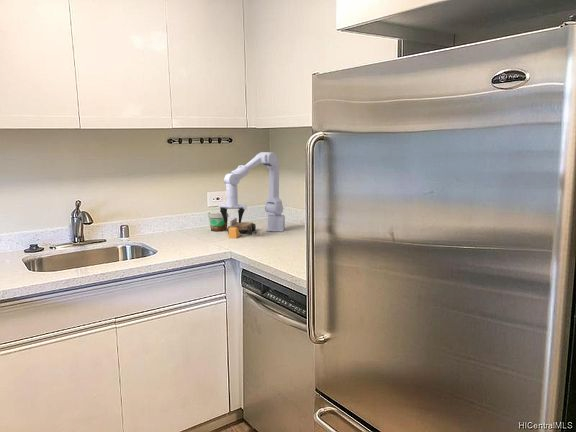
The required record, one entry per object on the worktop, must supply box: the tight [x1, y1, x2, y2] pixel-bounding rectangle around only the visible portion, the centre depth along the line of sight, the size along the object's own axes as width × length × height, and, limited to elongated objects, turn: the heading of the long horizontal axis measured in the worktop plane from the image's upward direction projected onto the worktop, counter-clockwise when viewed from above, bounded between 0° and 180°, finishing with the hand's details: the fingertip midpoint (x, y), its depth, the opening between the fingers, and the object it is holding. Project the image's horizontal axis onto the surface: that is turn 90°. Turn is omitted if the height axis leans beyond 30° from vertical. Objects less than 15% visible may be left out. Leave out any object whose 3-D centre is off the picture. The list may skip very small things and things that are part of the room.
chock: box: [228, 227, 241, 239], centre depth 243 cm, size 4×8×5 cm, turn 171°
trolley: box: [227, 217, 257, 235], centre depth 254 cm, size 13×13×7 cm
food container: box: [207, 212, 230, 233], centre depth 258 cm, size 12×6×10 cm, turn 73°
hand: (232, 222), depth 240 cm, fingers open, 7 cm apart
